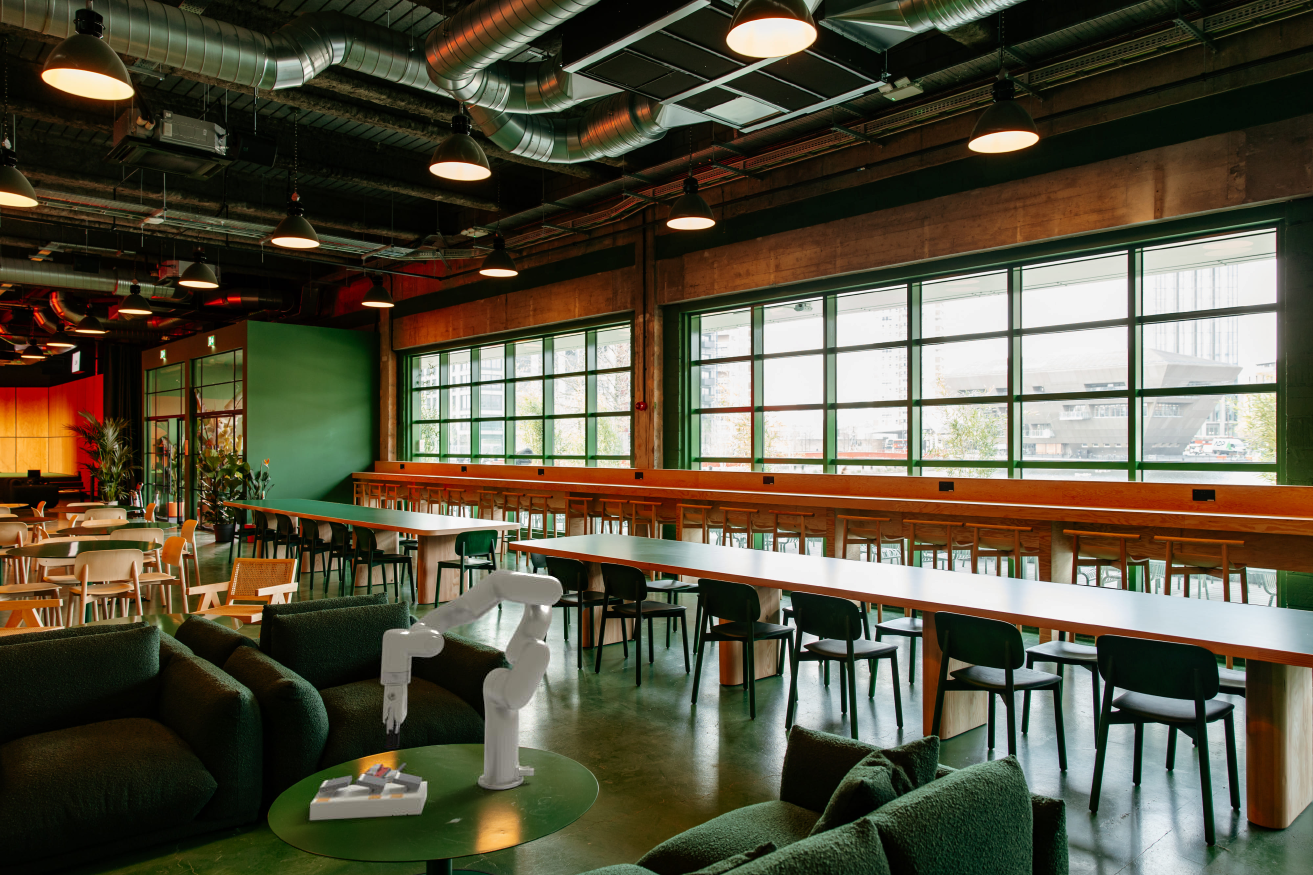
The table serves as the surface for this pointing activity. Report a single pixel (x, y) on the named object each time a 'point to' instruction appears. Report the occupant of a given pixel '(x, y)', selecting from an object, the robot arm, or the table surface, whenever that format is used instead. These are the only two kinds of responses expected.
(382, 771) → the walkie-talkie
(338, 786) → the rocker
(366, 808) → the switch unit
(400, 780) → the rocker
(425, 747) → the table surface
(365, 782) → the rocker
